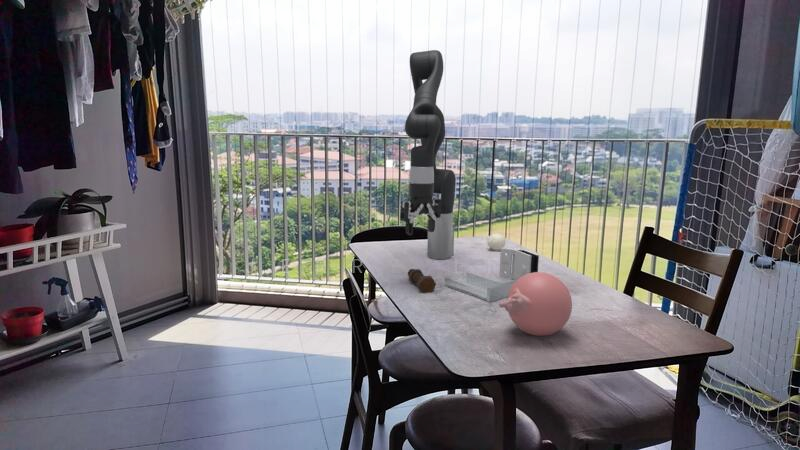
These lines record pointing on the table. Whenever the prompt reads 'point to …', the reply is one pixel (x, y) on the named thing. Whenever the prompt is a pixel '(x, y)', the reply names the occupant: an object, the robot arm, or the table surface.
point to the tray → (480, 286)
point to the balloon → (538, 304)
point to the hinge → (517, 263)
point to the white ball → (496, 241)
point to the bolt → (421, 280)
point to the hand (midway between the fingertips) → (420, 233)
